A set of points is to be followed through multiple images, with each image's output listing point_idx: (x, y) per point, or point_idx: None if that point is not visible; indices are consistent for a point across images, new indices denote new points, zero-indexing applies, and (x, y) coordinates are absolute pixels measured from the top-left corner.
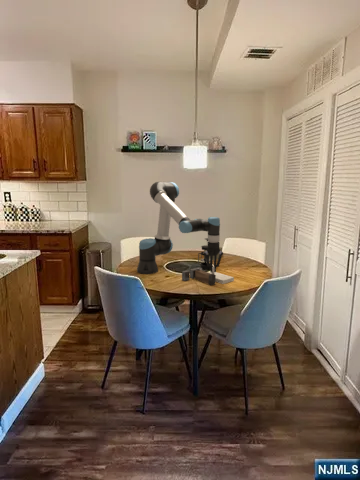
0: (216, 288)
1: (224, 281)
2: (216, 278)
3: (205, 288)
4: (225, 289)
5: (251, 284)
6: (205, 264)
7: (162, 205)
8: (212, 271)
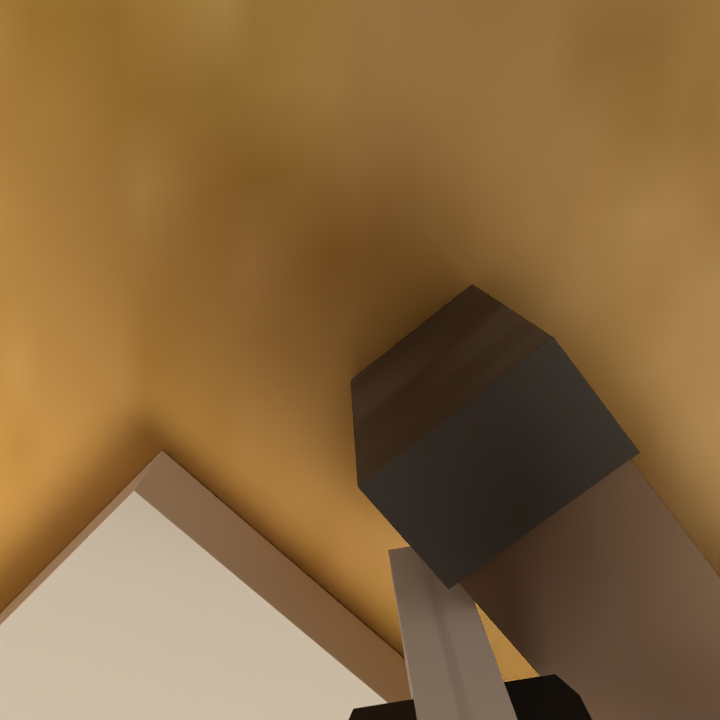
0: (331, 71)
1: (102, 517)
2: (315, 641)
3: (631, 36)
4: (81, 7)
5: None
6: None
7: None
8: (502, 686)
